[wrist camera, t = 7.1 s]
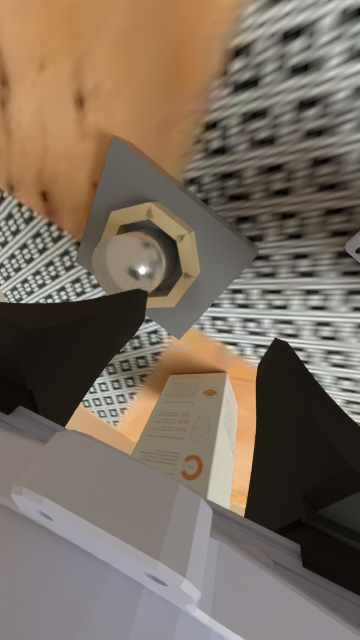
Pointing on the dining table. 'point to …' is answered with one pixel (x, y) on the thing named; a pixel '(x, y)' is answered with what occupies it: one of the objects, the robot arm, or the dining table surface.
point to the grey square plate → (178, 222)
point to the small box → (194, 434)
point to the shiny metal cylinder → (134, 260)
